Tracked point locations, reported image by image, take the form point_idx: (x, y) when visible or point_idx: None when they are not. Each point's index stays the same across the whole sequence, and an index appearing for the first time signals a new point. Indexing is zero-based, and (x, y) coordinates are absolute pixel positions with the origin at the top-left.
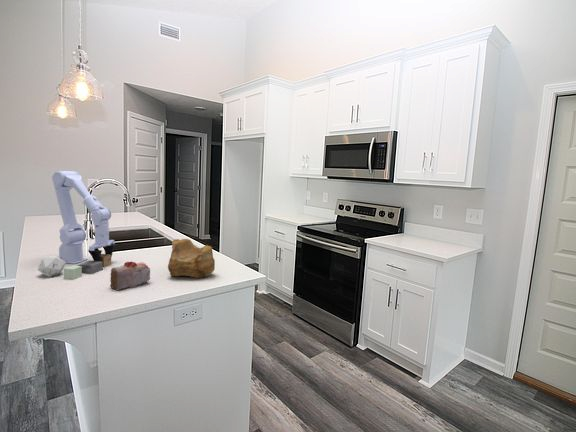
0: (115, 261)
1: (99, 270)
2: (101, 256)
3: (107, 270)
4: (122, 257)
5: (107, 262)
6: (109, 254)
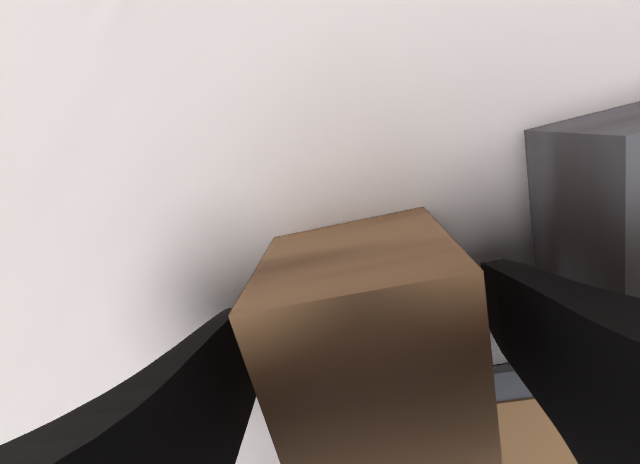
0: (158, 297)
1: (606, 111)
2: (452, 357)
3: (534, 21)
4: (7, 357)
5: (351, 239)
6: (244, 346)
